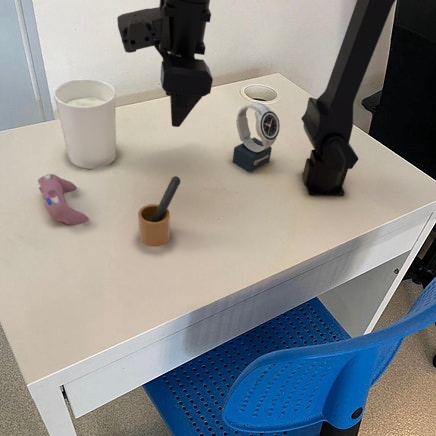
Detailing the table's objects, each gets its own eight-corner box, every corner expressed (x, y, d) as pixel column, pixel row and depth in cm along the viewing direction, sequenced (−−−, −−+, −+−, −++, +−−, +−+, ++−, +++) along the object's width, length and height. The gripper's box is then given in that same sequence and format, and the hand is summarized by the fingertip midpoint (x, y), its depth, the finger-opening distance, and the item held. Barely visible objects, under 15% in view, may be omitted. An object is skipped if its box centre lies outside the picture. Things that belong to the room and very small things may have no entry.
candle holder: (109, 176, 86) (102, 111, 77) (55, 166, 86) (42, 100, 78) (127, 146, 92) (123, 84, 84) (77, 137, 93) (68, 74, 84)
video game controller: (55, 202, 82) (28, 173, 77) (78, 187, 82) (53, 158, 76) (68, 240, 76) (39, 212, 71) (93, 224, 76) (66, 195, 70)
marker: (176, 228, 77) (177, 173, 69) (180, 233, 76) (182, 178, 69) (141, 240, 74) (139, 184, 67) (145, 245, 74) (143, 189, 66)
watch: (257, 177, 89) (266, 121, 81) (225, 157, 92) (231, 101, 84) (277, 166, 92) (288, 111, 84) (245, 147, 95) (253, 92, 87)
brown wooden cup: (160, 229, 77) (160, 200, 73) (174, 246, 75) (175, 218, 71) (134, 237, 76) (132, 209, 72) (147, 255, 73) (146, 227, 69)
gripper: (120, -39, 67) (115, 75, 78) (126, 12, 54) (119, 139, 65) (201, -25, 70) (185, 83, 81) (223, 27, 57) (201, 146, 68)
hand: (172, 110), depth 74 cm, fingers open, 9 cm apart
